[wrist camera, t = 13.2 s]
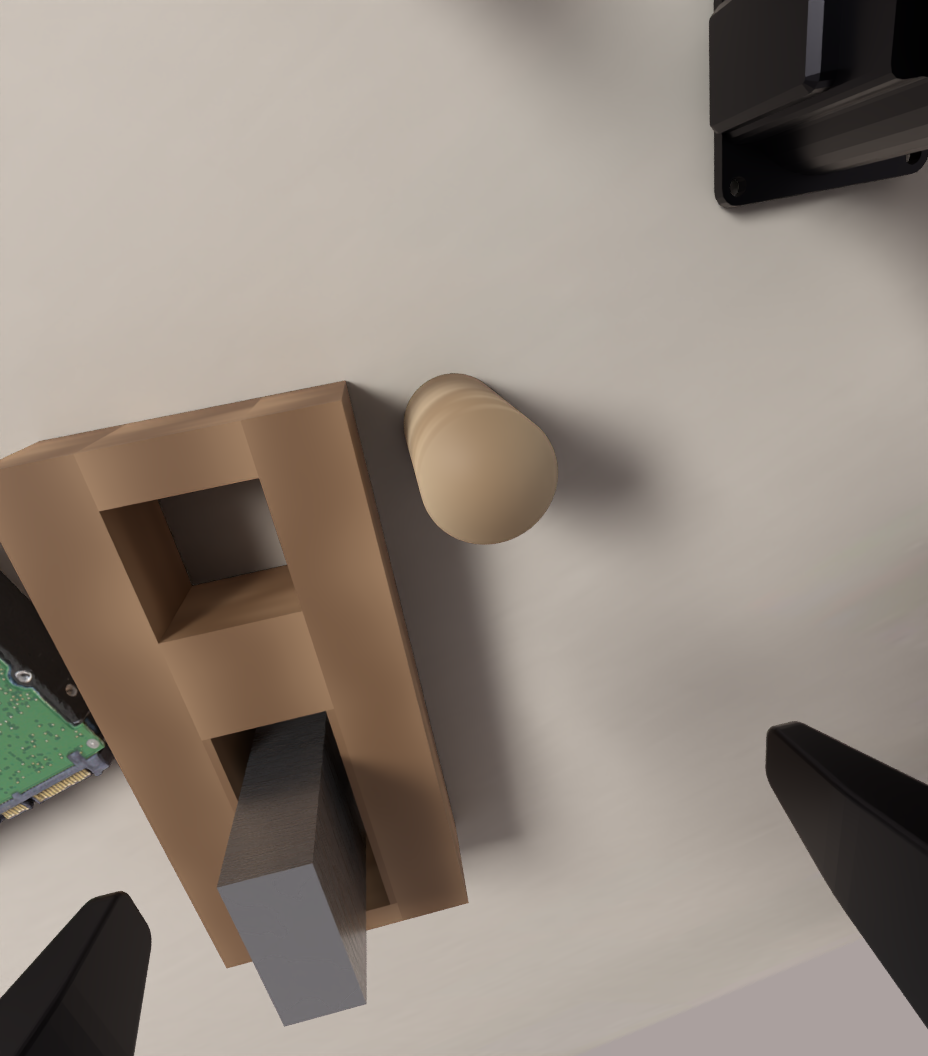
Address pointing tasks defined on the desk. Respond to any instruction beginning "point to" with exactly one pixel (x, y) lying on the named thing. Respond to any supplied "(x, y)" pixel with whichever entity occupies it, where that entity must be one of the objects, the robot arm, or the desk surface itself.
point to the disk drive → (39, 713)
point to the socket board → (237, 633)
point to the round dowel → (478, 460)
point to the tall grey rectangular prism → (299, 871)
